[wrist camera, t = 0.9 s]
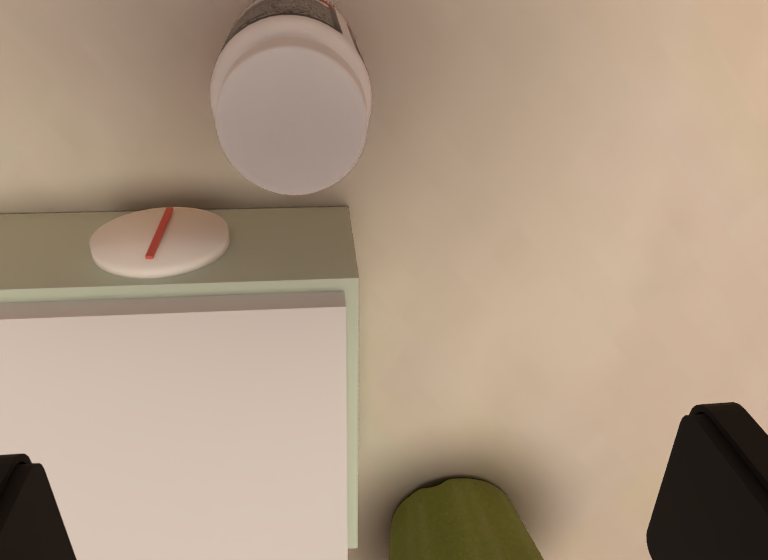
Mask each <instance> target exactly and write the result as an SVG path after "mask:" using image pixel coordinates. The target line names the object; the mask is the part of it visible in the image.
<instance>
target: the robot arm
mask: <svg viewBox="0 0 768 560" xmlns="http://www.w3.org/2000/svg"><path fill="white" fill-rule="evenodd" d="M646 537H647V546H648V550H649V553H650V555H651V558H652V560H768V435H767V434H766V433H765V432H764V430H763V429H762V428H761V427H760V426H759V425H758V424H757V422H756V421H755V420H754V419H753V418H752V417H751V416H750V414H749V413H748V412H747V411H746V410H745V409H744V408H743V407H742V406H741V405H740V404H737V403H735V402H729V403H715V404H701V405H696V406H694V407H693V408H692V410H691V412H690V414H689V415H685V416H684V417H683V418H682V420H681V422H680V425H679V428H678V432H677V435H676V438H675V441H674V445H673V448H672V451H671V454H670V458H669V461H668V464H667V468H666V471H665V474H664V477H663V481H662V484H661V487H660V490H659V494H658V497H657V500H656V503H655V507H654V510H653V513H652V517H651V520H650V523H649V526H648V530H647V535H646ZM0 560H77V559H76V556H75V554H74V551H73V548H72V545H71V542H70V539H69V537H68V534H67V531H66V528H65V525H64V523H63V520H62V517H61V514H60V511H59V509H58V506H57V503H56V500H55V497H54V494H53V492H52V489H51V486H50V483H49V480H48V478H47V475H46V472H45V469H44V467H43V465H42V464H40V463H32V462H31V460H30V458H29V456H27V455H26V454H7V455H0Z"/></svg>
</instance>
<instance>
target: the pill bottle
mask: <svg viewBox="0 0 768 560" xmlns="http://www.w3.org/2000/svg"><path fill="white" fill-rule="evenodd" d="M210 103H211V109H212V114H213V118H214V121H215V124H216V131H217V135H218V139H219V142H220V145H221V147H222V149H223V151H224V153H225V155H226V157H227V158H228V160H229V161H230V163H231V164H232V165H233V167H234V168H235V169H236V170H237V171H238V172H239V173H240V174H241V175H242V176H244V177H245V178H246V179H247V180H249V181H250V182H252V183H253V184H255V185H257V186H259V187H261V188H263V189H265V190H268V191H271V192H274V193H279V194H285V195H304V194H311V193H314V192H318V191H321V190H323V189H325V188H328V187H330V186H332V185H333V184H335V183H337V182H338V181H339V180H341V179H342V178H343V177H344V176H345V175H346V174H347V173H348V172H349V171H350V170H351V169H352V168H353V166H354V165H355V164H356V162H357V161H358V159H359V157H360V155H361V153H362V151H363V148H364V145H365V142H366V138H367V132H368V123H369V120H370V115H371V108H372V91H371V84H370V79H369V75H368V72H367V69H366V66H365V64H364V61H363V59H362V57H361V54H360V52H359V50H358V47H357V44H356V40H355V38H354V35H353V33H352V31H351V29H350V27H349V26H348V24H347V22H346V21H345V19H344V18H343V17H342V16H341V14H340V13H339V12H338V11H337V10H336V9H335V8H334V7H333V6H331V5H330V4H329V3H328V2H326V1H325V0H256V1H255V2H253V3H252V4H250V5H249V6H248V7H247V8H246V9H245V10H244V11H243V12H242V13H241V15H240V16H239V17H238V19H237V20H236V22H235V24H234V26H233V28H232V30H231V32H230V34H229V36H228V38H227V40H226V42H225V45H224V46H223V48H222V50H221V53H220V55H219V56H218V58H217V61H216V63H215V66H214V69H213V73H212V77H211V85H210Z"/></svg>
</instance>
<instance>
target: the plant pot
mask: <svg viewBox="0 0 768 560" xmlns="http://www.w3.org/2000/svg"><path fill="white" fill-rule="evenodd" d="M389 560H544V559H543V558H542V556H541V554H540V552H539V551H538V549H537V547H536V545H535V544H534V542H533V540H532V538H531V537H530V535H529V533H528V531H527V530H526V528H525V526H524V524H523V523H522V521H521V519H520V517H519V515H518V514H517V512H516V510H515V508H514V507H513V505H512V503H511V502H510V500H509V498H508V497H507V496H506V494H505V493H504V492H502V491H501V490H500V489H499V488H497V487H496V486H494V485H492V484H490V483H488V482H485V481H481V480H476V479H468V478H457V479H449V480H447V481H445V482H443V483H442V484H440V485H437V486H434V487H430V488H422V489H419V490H417V491H416V492H414V493H413V494H412V495H410V496H409V497H408V498H407V499H405V500H404V501H403V502H402V503H401V504H400V506H399V507H398V508H397V510H396V512H395V513H394V515H393V518H392V521H391V526H390V544H389Z"/></svg>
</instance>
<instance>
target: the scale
mask: <svg viewBox="0 0 768 560" xmlns="http://www.w3.org/2000/svg"><path fill="white" fill-rule="evenodd" d="M358 364H359V275H358V268H357V261H356V255H355V248H354V241H353V234H352V227H351V221H350V214H349V207H305V208H259V209H212V210H202V209H196V208H188V207H162V208H153V209H146V210H141V211H119V212H73V213H26V214H0V455H7V454H26V455H27V456H29V458H30V460H31V462H32V463H40V464H42V465H43V467H44V469H45V472H46V475H47V478H48V480H49V483H50V486H51V489H52V492H53V494H54V497H55V500H56V503H57V506H58V509H59V511H60V514H61V517H62V520H63V523H64V525H65V528H66V531H67V534H68V537H69V539H70V542H71V545H72V548H73V551H74V554H75V556H76V559H77V560H348V549H352V548H358Z"/></svg>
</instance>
